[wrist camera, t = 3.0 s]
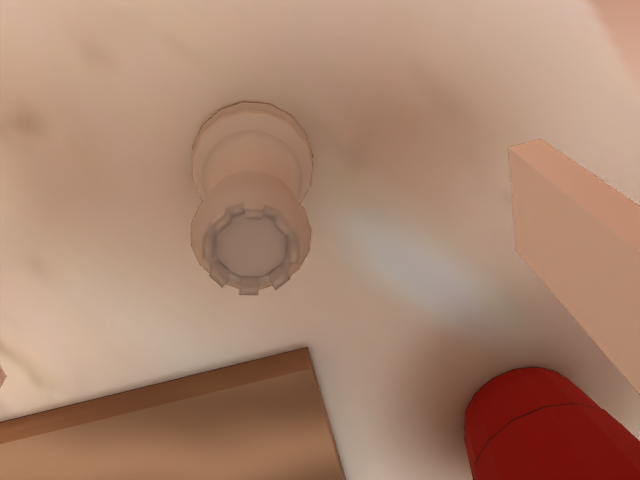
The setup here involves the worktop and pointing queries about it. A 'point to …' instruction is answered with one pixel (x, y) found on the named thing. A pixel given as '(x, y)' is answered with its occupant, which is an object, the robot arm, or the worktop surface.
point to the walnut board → (185, 430)
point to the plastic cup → (545, 432)
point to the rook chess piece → (251, 197)
